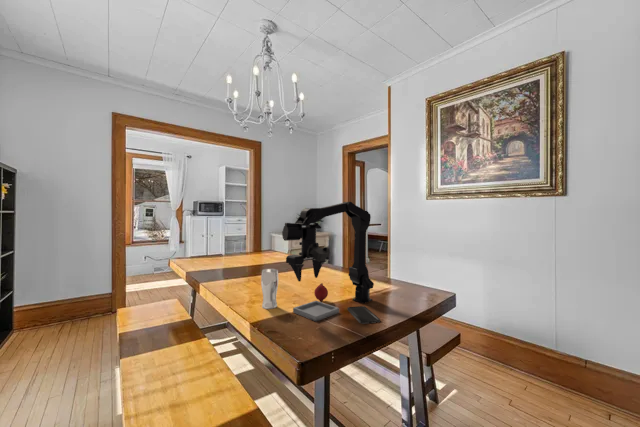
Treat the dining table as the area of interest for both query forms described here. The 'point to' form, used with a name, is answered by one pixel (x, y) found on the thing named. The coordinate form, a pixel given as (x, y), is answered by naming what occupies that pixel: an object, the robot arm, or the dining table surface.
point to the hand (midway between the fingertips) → (307, 279)
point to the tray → (316, 310)
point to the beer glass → (269, 288)
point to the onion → (321, 292)
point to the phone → (363, 314)
